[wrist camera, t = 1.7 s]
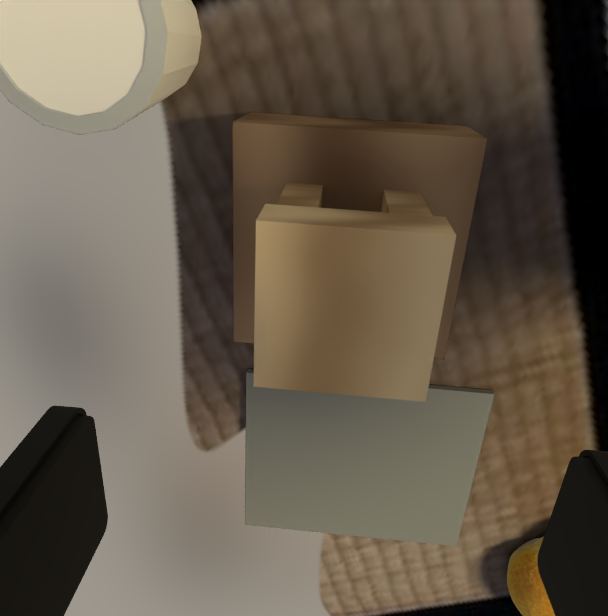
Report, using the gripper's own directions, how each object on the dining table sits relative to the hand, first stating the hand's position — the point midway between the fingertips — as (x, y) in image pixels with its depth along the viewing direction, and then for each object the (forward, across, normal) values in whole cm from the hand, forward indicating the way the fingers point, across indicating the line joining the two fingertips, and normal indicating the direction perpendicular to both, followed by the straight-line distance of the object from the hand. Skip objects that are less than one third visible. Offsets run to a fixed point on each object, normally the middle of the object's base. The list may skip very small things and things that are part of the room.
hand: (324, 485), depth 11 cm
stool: (+14, -1, 0) cm, 14 cm away
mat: (+18, -3, +15) cm, 24 cm away
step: (+18, -1, 0) cm, 18 cm away
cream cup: (+18, +9, -8) cm, 22 cm away
